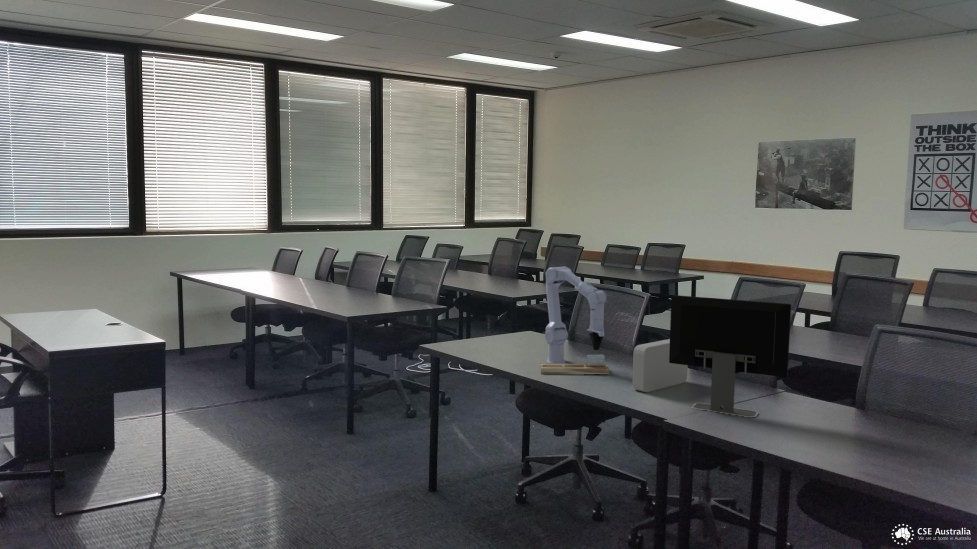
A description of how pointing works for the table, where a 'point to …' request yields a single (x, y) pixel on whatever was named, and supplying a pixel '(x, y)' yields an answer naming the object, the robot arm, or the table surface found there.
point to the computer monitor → (729, 342)
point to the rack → (572, 369)
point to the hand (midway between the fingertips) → (596, 349)
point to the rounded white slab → (656, 367)
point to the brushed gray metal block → (595, 360)
